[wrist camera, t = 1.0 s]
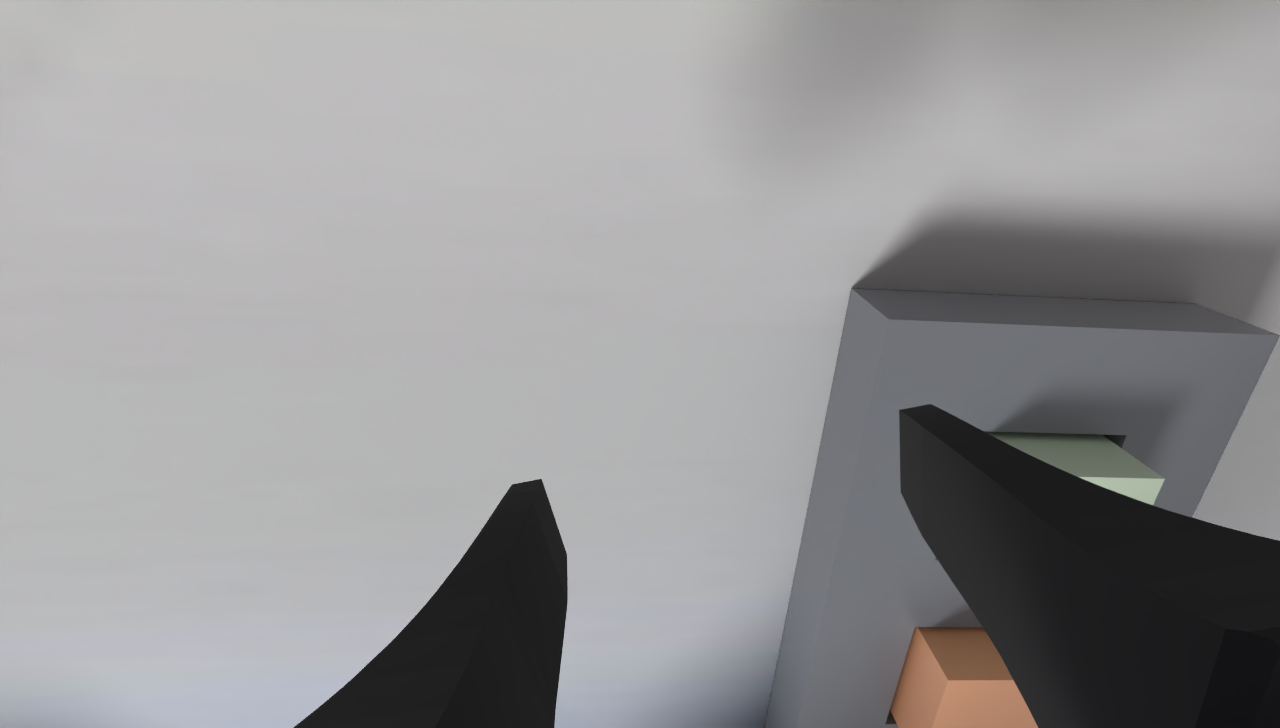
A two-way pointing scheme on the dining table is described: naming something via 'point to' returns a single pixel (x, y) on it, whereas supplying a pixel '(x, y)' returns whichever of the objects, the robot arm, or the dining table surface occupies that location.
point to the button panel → (991, 401)
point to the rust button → (957, 683)
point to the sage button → (1090, 461)
